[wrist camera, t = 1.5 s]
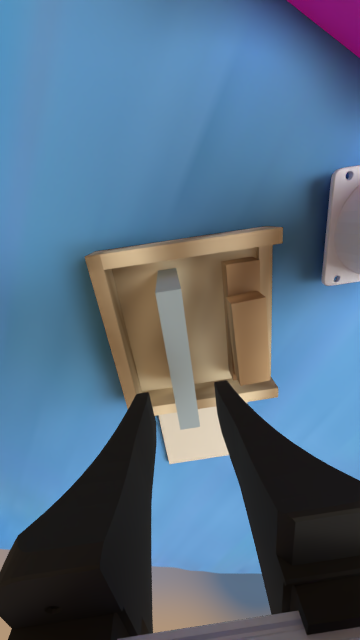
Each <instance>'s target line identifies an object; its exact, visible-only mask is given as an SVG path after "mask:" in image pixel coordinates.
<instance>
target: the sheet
mask: <svg viewBox="0 0 360 640" xmlns="http://www.w3.org/2000/svg"><path fill="white" fill-rule="evenodd" d="M155 294H156V300H157V305H158V311H159V316H160V322H161V327H162V333H163V338H164V343H165V349H166V354H167V360H168V365H169V371H170V376H171V382H172V387H173V393H174V398H175V404H176V409H177V415H178V420H179V425H180V430H183V429H190V428H196V427H200V422H199V415H198V407H197V400H196V393H195V386H194V379H193V371H192V364H191V357H190V350H189V342H188V335H187V328H186V321H185V314H184V306H183V299H182V292H181V287H180V282H179V278H178V274H177V270H176V268H172V269H166V270H159V271H158V274H157V282H156V291H155Z"/></svg>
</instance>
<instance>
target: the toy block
mask: <svg viewBox="0 0 360 640" xmlns="http://www.w3.org/2000/svg"><path fill="white" fill-rule="evenodd" d="M287 1H288V2H289V3H291V4H292V5H293V6H294V7H296V8H297V9H298V10H299V11H301V12H302V13H303V14H304V15H306V16H307V17H308V18H309V19H311V20H312V21H313V22H315V23H316V24H317V25H318V26H320V27H321V28H322V29H323V30H325V31H326V32H327V33H328V34H330V35H331V36H332V37H334V38H335V39H336V40H337V41H339V42H340V43H341V44H342V45H344V46H345V47H346V48H347V49H349V50H350V51H351V52H353V53H354V54H355V55H356V56H358V57H359V58H360V0H287Z"/></svg>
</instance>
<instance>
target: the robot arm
mask: <svg viewBox="0 0 360 640" xmlns="http://www.w3.org/2000/svg"><path fill="white" fill-rule="evenodd" d="M347 172H348V173H349V178H348V179H346V173H347ZM335 276H337V279H336V280H335V281H334V277H335ZM359 281H360V165H359V166H352V167H346V168H341V169H338V170H336V171H335V172H334V173H333V174H332V177H331V186H330V196H329V207H328V217H327V228H326V238H325V249H324V259H323V270H322V283H323V284H324V285H326V286H332V285H339V284H346V283H352V282H359ZM214 387H215V397H216V407H217V415H218V419H219V424H220V428H221V432H222V435H223V438H224V441H225V444H226V447H227V450H228V453H229V455H230V458H231V461H232V464H233V467H234V470H235V473H236V475H237V478H238V481H239V485H240V488H241V492H242V496H243V499H244V503H245V507H246V511H247V515H248V519H249V523H250V527H251V531H252V535H253V539H254V543H255V547H256V551H257V555H258V559H259V563H260V567H261V571H262V576H263V580H264V584H265V588H266V593H267V596H268V601H269V605H270V610H271V614H272V615H267V616H260V617H254V618H248V619H242V620H235V621H228V622H222V623H216V624H209V625H203V626H196V627H190V628H183V629H177V630H171V631H164V632H158V633H153V624H152V579H151V578H152V575H151V499H152V485H153V475H154V464H155V453H156V421H155V416H154V412H153V408H152V403H151V399H150V395H149V392H145V393H139V394H136V395H135V397H134V399H133V401H132V403H131V405H130V407H129V409H128V410H127V412H126V414H125V416H124V417H123V419H122V421H121V423H120V424H119V426H118V428H117V429H116V431H115V432H114V434H113V435H112V437H111V438H110V440H109V441H108V443H107V444H106V446H105V447H104V448H103V450H102V451H101V452H100V454H99V455H98V456H97V458H96V459H95V460H94V461H93V463H92V464H91V465H90V466H89V467H88V469H87V470H86V471H85V472H84V473H83V474H82V476H81V477H80V478H79V479H78V480H77V481H76V482H75V483H74V484H73V485H72V487H71V488H70V489H69V490H68V491H67V492H66V493H65V494H64V495H63V496H62V497H61V498H60V499H59V500H58V501H56V502H55V503H54V504H53V505H52V506H51V507H50V508H49V509H48V510H47V511H46V512H45V513H44V514H42V515H41V516H40V517H39V518H38V519H37V520H36V521H34V522H33V523H32V524H31V525H30V526H29V527H28V528H26V529H25V530H24V531H23V532H22V533H21V534H19V535H18V537H17V539H16V540H15V542H14V544H13V546H12V548H11V550H10V552H9V554H8V556H7V558H6V560H5V562H4V565H3V567H2V569H1V571H0V617H1V618H2V619H3V620H4V621H5V622H6V623H7V624H8V625H9V626H10V627H11V628H12V630H11V633H10V635H9V638H8V640H360V481H359V480H357V479H355V478H353V477H351V476H349V475H347V474H345V473H343V472H341V471H339V470H337V469H335V468H333V467H332V466H330V465H328V464H326V463H325V462H323V461H321V460H319V459H318V458H316V457H314V456H313V455H311V454H309V453H308V452H306V451H305V450H303V449H302V448H300V447H299V446H297V445H296V444H294V443H293V442H291V441H290V440H289V439H287V438H286V437H284V436H283V435H282V434H280V433H279V432H278V431H277V430H275V429H274V428H273V427H272V426H270V425H269V424H268V423H267V422H266V421H265V420H264V419H262V418H261V417H260V416H259V415H258V414H257V413H256V412H255V411H254V410H253V409H252V408H251V407H250V406H249V405H248V404H247V403H246V402H245V401H244V400H243V399H242V398H241V397H240V396H239V394H238V393H237V392H236V391H235V390H234V389H233V387H232V386H231V385H230V383H229V382H228V381H226V380H225V381H218V382H214Z"/></svg>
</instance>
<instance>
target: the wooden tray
mask: <svg viewBox="0 0 360 640" xmlns="http://www.w3.org/2000/svg"><path fill="white" fill-rule="evenodd" d="M281 243H283V227H272V226H263V227H257V228H250V229H243V230H236V231H230V232H223V233H216V234H209V235H203V236H196V237H189V238H182V239H176V240H169V241H162V242H155V243H149V244H142V245H135V246H129V247H122V248H115V249H108V250H102V251H95V252H93V253H91V254H89V255H87V256H85V260H86V264H87V267H88V271H89V274H90V278H91V281H92V285H93V288H94V292H95V295H96V299H97V302H98V306H99V309H100V313H101V316H102V320H103V323H104V327H105V330H106V334H107V337H108V341H109V344H110V348H111V352H112V355H113V359H114V362H115V366H116V369H117V373H118V376H119V380H120V383H121V387H122V390H123V394H124V397H125V401H126V404H127V408H128V409H129V407H130V405H131V403H132V401H133V399H134V397H135V395H136V394H139V393H145V392H149V395H150V399H151V403H152V408H153V412H154V416H156V415H162V414H169V413H176V412H177V409H176V404H175V398H174V393H173V387H172V382H171V376H170V371H169V365H168V360H167V354H166V349H165V343H164V338H163V333H162V327H161V322H160V316H159V311H158V305H157V300H156V294H155V291H156V282H157V274H158V271H159V270H166V269H172V268H176V270H177V274H178V278H179V282H180V287H181V292H182V299H183V306H184V314H185V321H186V328H187V335H188V342H189V350H190V357H191V364H192V371H193V379H194V386H195V393H196V400H197V407H198V409H202V408H209V407H215V406H216V397H215V387H214V382H218V381H225V380H226V381H228V382H229V383H230V385H231V386H232V387H233V389H234V390H235V391H236V392H237V393H238V394H239V396H240V397H241V398H242V399H243V400H244V401H245V402H249V401H255V400H262V399H268V398H275V397H278V387H277V385H276V384H275V382H274V381H273V379H272V378H271V318H272V247H273V245H274V244H281ZM246 257H254V258H257V259H259V260H260V293H261V294H262V295H264V296H265V297H266V306H267V325H268V345H269V365H270V380H269V381H264V382H259V383H253V384H248V385H243V386H240V384H239V382H238V380H233V379H232V376H231V374H230V372H229V367H228V353H227V338H226V323H225V308H224V294H223V279H222V264H221V261H226V260H233V259H239V258H246Z"/></svg>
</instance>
